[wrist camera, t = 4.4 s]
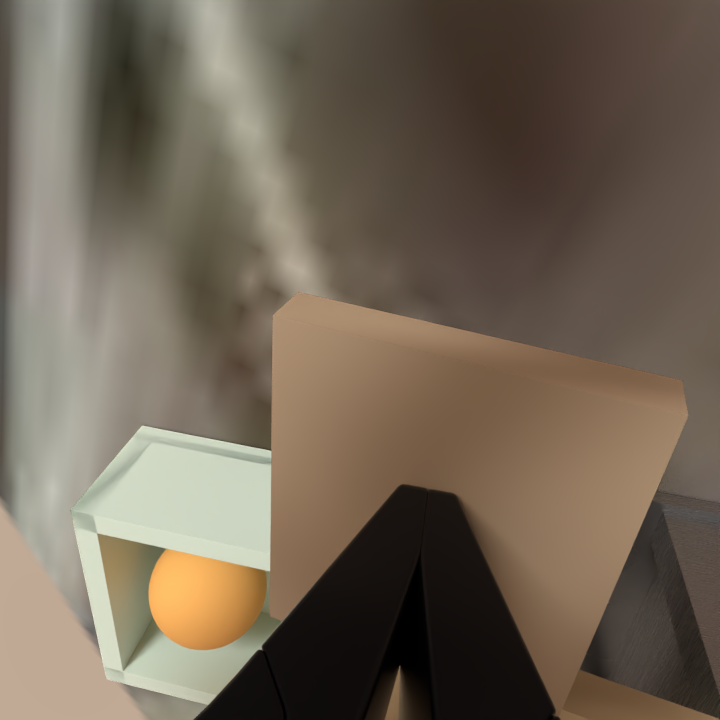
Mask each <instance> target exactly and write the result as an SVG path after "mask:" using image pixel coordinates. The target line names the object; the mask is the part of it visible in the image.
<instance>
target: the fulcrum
mask: <svg viewBox="0 0 720 720" xmlns="http://www.w3.org/2000/svg"><path fill="white" fill-rule="evenodd" d="M579 670H581V671H584V672H587V673H590V674H593V675H596V676H598V677H601V678H604V679H607V680H610V681H613V682H616V683H618V684H621V685H624V686H627V687H630V688H633V689H635V690H638V691H641V692H644V693H647V694H650V695H653V696H655V697H658V698H661V699H664V700H667V701H670V702H673V703H675V704H678V705H681V706H684V707H687V708H690V709H692V710H695V711H698V712H701V713H704V714H707V715H710V716H712V717H715V718H718V719H720V504H719V503H714V502H708V501H703V500H698V499H693V498H687V497H682V496H677V495H671V494H666V493H661V492H656V493H655V495H654V497H653V499H652V502H651V504H650V506H649V509H648V511H647V513H646V516H645V518H644V520H643V523H642V525H641V527H640V530H639V532H638V534H637V537H636V539H635V541H634V544H633V546H632V548H631V551H630V553H629V555H628V558H627V560H626V562H625V564H624V567H623V569H622V571H621V574H620V576H619V578H618V581H617V583H616V585H615V588H614V590H613V592H612V595H611V597H610V599H609V602H608V604H607V606H606V609H605V611H604V613H603V616H602V618H601V620H600V623H599V625H598V627H597V629H596V632H595V634H594V636H593V639H592V641H591V643H590V646H589V648H588V650H587V653H586V655H585V657H584V660H583V662H582V664H581V667H580V669H579Z"/></svg>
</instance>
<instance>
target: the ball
mask: <svg viewBox="0 0 720 720" xmlns="http://www.w3.org/2000/svg"><path fill="white" fill-rule="evenodd" d="M266 589H267V579H266V572H265V570H261V569H257V568H252V567H247V566H243V565H238V564H234V563H229V562H225V561H220V560H216V559H211V558H207V557H202V556H198V555H193V554H189V553H184V552H180V551H175V550H171V549H166V550H165V551H164V552H163V554H162V555H161V556H160V558H159V559H158V561H157V563H156V565H155V567H154V569H153V572H152V574H151V578H150V583H149V591H148V594H149V605H150V609H151V613H152V616H153V618H154V620H155V622H156V624H157V626H158V627H159V629H160V630H161V631H162V632H163V633H164V634H165V635H166V636H167V637H168V638H169V639H171V640H172V641H173V642H175V643H177V644H179V645H180V646H183V647H186V648H189V649H194V650H211V649H217V648H220V647H223V646H226V645H228V644H230V643H232V642H234V641H235V640H237V639H239V638H240V637H241V636H242V635H244V634H245V633H246V632H247V631H248V630H249V629H250V627H251V626H252V625H253V624H254V622H255V621H256V619H257V618H258V616H259V614H260V612H261V610H262V607H263V605H264V601H265V597H266Z"/></svg>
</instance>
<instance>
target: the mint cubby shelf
mask: <svg viewBox="0 0 720 720" xmlns="http://www.w3.org/2000/svg"><path fill="white" fill-rule="evenodd" d="M71 515H72V520H73V524H74V529H75V534H76V539H77V543H78V548H79V553H80V557H81V562H82V567H83V572H84V576H85V581H86V586H87V590H88V595H89V600H90V605H91V609H92V614H93V619H94V623H95V628H96V633H97V638H98V642H99V647H100V652H101V656H102V661H103V666H104V670H105V675H106V679H109V680H112V681H116V682H120V683H124V684H128V685H132V686H136V687H140V688H144V689H148V690H152V691H155V692H159V693H163V694H167V695H171V696H175V697H179V698H183V699H187V700H191V701H195V702H199V703H203V704H207V705H209V704H210V703H211V701H212V700H213V699H214V698H215V697H216V696H217V695H218V694H219V693H220V692H221V691H222V689H223V688H224V687H225V686H226V685H227V684H228V683H229V682H230V681H231V680H232V679H233V677H234V676H235V675H236V674H237V673H238V672H239V671H240V670H241V668H242V667H243V666H244V665H245V664H246V663H247V661H248V660H249V659H250V658H251V657H252V656H253V654H254V653H255V652H256V651H257V650H259V649H260V650H262V644H263V643H264V642H265V641H266V640H267V639H268V637H269V636H270V635H271V634H272V633H273V632H274V630H275V629H276V628H277V627H278V626H279V625H280V623H281V622H282V621H280V620H278V619H275V618H272V617H270V534H271V451H269V450H264V449H259V448H254V447H249V446H244V445H239V444H234V443H229V442H223V441H218V440H213V439H208V438H203V437H198V436H193V435H188V434H183V433H177V432H172V431H167V430H162V429H157V428H152V427H147V426H141V428H140V429H139V430H138V431H137V432H136V434H135V435H134V436H133V437H132V438H131V439H130V441H129V442H128V443H127V444H126V445H125V446H124V448H123V449H122V450H121V451H120V452H119V454H118V455H117V456H116V457H115V458H114V459H113V461H112V462H111V463H110V464H109V465H108V467H107V468H106V469H105V470H104V471H103V472H102V474H101V475H100V476H99V477H98V478H97V479H96V481H95V482H94V483H93V484H92V485H91V487H90V488H89V489H88V490H87V491H86V492H85V494H84V495H83V496H82V497H81V498H80V500H79V501H78V502H77V503H76V504H75V505H74V507H73V508H72V509H71ZM166 549H171V550H175V551H180V552H184V553H189V554H193V555H198V556H202V557H207V558H211V559H216V560H220V561H225V562H229V563H234V564H238V565H243V566H247V567H252V568H257V569H261V570H265V572H266V579H267V589H266V597H265V601H264V605H263V607H262V610H261V612H260V614H259V616H258V618H257V619H256V621H255V622H254V624H253V625H252V626H251V627H250V629H249V630H248V631H247V632H246V633H245V634H244V635H242V636H241V637H240V638H239V639H237V640H235V641H234V642H232V643H230V644H228V645H226V646H223V647H220V648H217V649H211V650H194V649H189V648H186V647H183V646H180V645H179V644H177V643H175V642H173V641H172V640H171V639H169V638H168V637H167V636H166V635H165V634H164V633H163V632H162V631H161V630H160V629H159V627H158V626H157V624H156V622H155V620H154V618H153V616H152V613H151V609H150V605H149V594H148V591H149V583H150V578H151V574H152V572H153V569H154V567H155V565H156V563H157V561H158V559H159V558H160V556H161V555H162V554H163V552H164V551H165V550H166Z"/></svg>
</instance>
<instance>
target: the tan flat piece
mask: <svg viewBox="0 0 720 720" xmlns="http://www.w3.org/2000/svg"><path fill="white" fill-rule="evenodd" d="M687 418H688V411H687V406H686V400H685V395H684V389H683V383H682V380H678V379H674V378H670V377H665V376H661V375H657V374H652V373H648V372H644V371H639V370H635V369H631V368H626V367H622V366H618V365H613V364H609V363H605V362H600V361H596V360H591V359H587V358H583V357H578V356H574V355H570V354H565V353H561V352H557V351H552V350H548V349H544V348H539V347H535V346H531V345H526V344H522V343H518V342H513V341H509V340H505V339H500V338H496V337H492V336H487V335H483V334H478V333H474V332H470V331H465V330H461V329H457V328H452V327H448V326H444V325H439V324H435V323H431V322H426V321H422V320H418V319H413V318H409V317H405V316H400V315H396V314H392V313H387V312H383V311H379V310H374V309H370V308H365V307H361V306H357V305H352V304H348V303H344V302H339V301H335V300H331V299H326V298H322V297H318V296H313V295H309V294H305V293H300V292H298V293H297V294H296V295H295V296H294V297H293V298H292V299H290V300H289V301H288V302H287V303H286V304H285V305H284V306H283V307H281V308H280V309H279V310H278V311H277V312H276V313H275V314H274V315H273V348H272V441H271V534H270V617H272V618H275V619H278V620H280V621H283V620H284V619H285V618H286V616H287V615H288V614H289V613H290V612H291V611H292V609H293V608H294V607H295V606H296V605H297V604H298V602H299V601H300V600H301V599H302V598H303V597H304V595H305V594H306V593H307V592H308V591H309V590H310V588H311V587H312V586H313V585H314V584H315V583H316V581H317V580H318V579H319V578H320V577H321V576H322V574H323V573H324V572H325V571H326V570H327V569H328V567H329V566H330V565H331V564H332V563H333V562H334V560H335V559H336V558H337V557H338V556H339V555H340V553H341V552H342V551H343V550H344V549H345V548H346V546H347V545H348V544H349V543H350V542H351V541H352V539H353V538H354V537H355V536H356V535H357V534H358V532H359V531H360V530H361V529H362V528H363V527H364V525H365V524H366V523H367V522H368V521H369V520H370V518H371V517H372V516H373V515H374V514H375V513H376V511H377V510H378V509H379V508H380V507H381V506H382V504H383V503H384V502H385V501H386V500H387V499H388V497H389V496H390V495H391V494H392V493H393V492H394V490H395V489H396V488H397V487H398V486H399V485H401V484H408V485H414V486H419V487H424V488H427V489H428V490H429V489H435V490H440V491H446V492H451V493H454V494H455V495H456V496H457V497H458V499H459V501H460V503H461V505H462V508H463V510H464V512H465V514H466V516H467V518H468V521H469V523H470V525H471V527H472V529H473V531H474V534H475V536H476V538H477V540H478V542H479V544H480V547H481V549H482V551H483V553H484V555H485V557H486V560H487V562H488V564H489V566H490V568H491V570H492V573H493V575H494V577H495V579H496V581H497V583H498V585H499V588H500V590H501V592H502V594H503V596H504V598H505V601H506V603H507V605H508V607H509V609H510V611H511V614H512V616H513V618H514V620H515V622H516V624H517V627H518V629H519V631H520V633H521V635H522V637H523V640H524V642H525V644H526V646H527V648H528V650H529V653H530V655H531V657H532V659H533V661H534V663H535V665H536V668H537V670H538V672H539V674H540V676H541V678H542V681H543V683H544V685H545V687H546V689H547V691H548V694H549V696H550V698H551V700H552V702H553V704H554V707H555V709H556V714H555V716H558V717H559V718H560V719H561V720H720V719H718V718H715V717H712V716H710V715H707V714H704V713H701V712H698V711H695V710H692V709H690V708H687V707H684V706H681V705H678V704H675V703H673V702H670V701H667V700H664V699H661V698H658V697H655V696H653V695H650V694H647V693H644V692H641V691H638V690H635V689H633V688H630V687H627V686H624V685H621V684H618V683H616V682H613V681H610V680H607V679H604V678H601V677H598V676H596V675H593V674H590V673H587V672H584V671H581V670H579V669H580V667H581V664H582V662H583V660H584V657H585V655H586V653H587V650H588V648H589V646H590V643H591V641H592V639H593V636H594V634H595V632H596V629H597V627H598V625H599V623H600V620H601V618H602V616H603V613H604V611H605V609H606V606H607V604H608V602H609V599H610V597H611V595H612V592H613V590H614V588H615V585H616V583H617V581H618V578H619V576H620V574H621V571H622V569H623V567H624V564H625V562H626V560H627V558H628V555H629V553H630V551H631V548H632V546H633V544H634V541H635V539H636V537H637V534H638V532H639V530H640V527H641V525H642V523H643V520H644V518H645V516H646V513H647V511H648V509H649V506H650V504H651V502H652V499H653V497H654V495H655V493H656V490H657V488H658V486H659V483H660V481H661V479H662V476H663V474H664V472H665V469H666V467H667V465H668V462H669V460H670V458H671V455H672V453H673V451H674V448H675V446H676V444H677V441H678V439H679V437H680V434H681V432H682V430H683V427H684V425H685V423H686V421H687ZM399 682H400V667H399V670H398V674H397V678H396V681H395V685H394V688H393V692H392V696H391V699H390V703H389V706H388V710H387V714H386V717H385V720H398V716H399Z"/></svg>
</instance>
